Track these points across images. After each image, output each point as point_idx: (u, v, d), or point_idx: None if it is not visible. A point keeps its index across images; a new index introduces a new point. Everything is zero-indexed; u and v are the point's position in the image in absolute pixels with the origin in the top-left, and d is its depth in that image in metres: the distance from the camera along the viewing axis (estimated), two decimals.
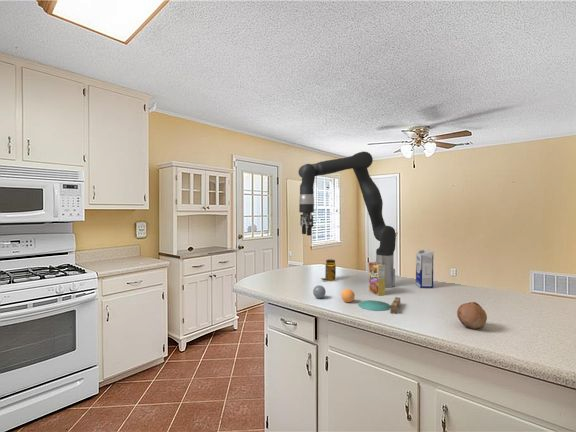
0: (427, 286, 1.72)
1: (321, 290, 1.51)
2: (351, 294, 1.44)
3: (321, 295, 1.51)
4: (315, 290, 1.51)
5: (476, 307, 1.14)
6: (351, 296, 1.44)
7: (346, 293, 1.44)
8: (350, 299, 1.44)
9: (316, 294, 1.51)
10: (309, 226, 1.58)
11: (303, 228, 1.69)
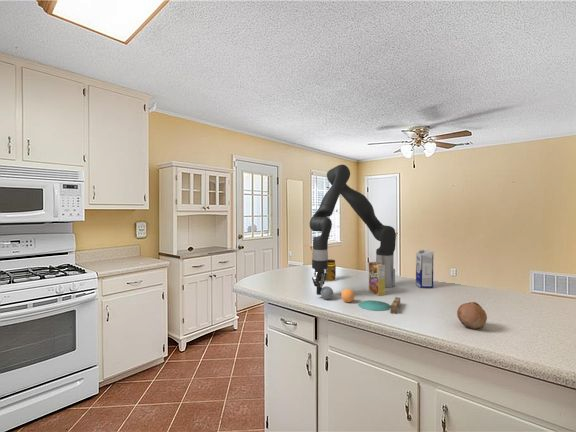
0: (427, 286, 1.72)
1: (330, 295, 1.49)
2: (351, 294, 1.44)
3: (326, 298, 1.49)
4: (325, 291, 1.49)
5: (476, 307, 1.14)
6: (351, 296, 1.44)
7: (346, 293, 1.44)
8: (350, 299, 1.44)
9: (323, 294, 1.49)
10: (323, 283, 1.56)
11: None
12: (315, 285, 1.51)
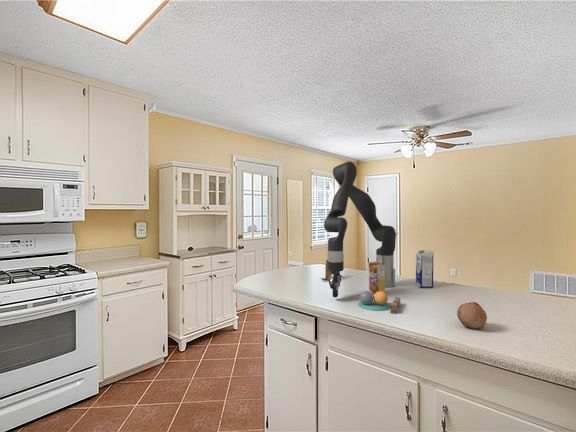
0: (427, 286, 1.72)
1: (364, 293, 1.41)
2: (378, 293, 1.41)
3: (369, 296, 1.40)
4: (362, 300, 1.41)
5: (476, 307, 1.14)
6: (380, 293, 1.41)
7: (376, 297, 1.41)
8: (383, 295, 1.40)
9: (366, 300, 1.40)
10: None
11: None
12: (331, 287, 1.47)
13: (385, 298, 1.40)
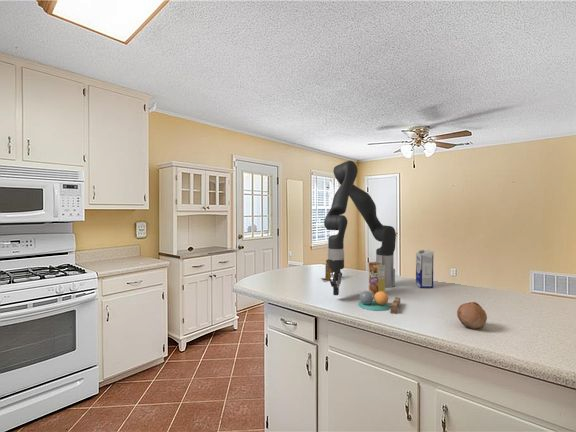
0: (427, 286, 1.72)
1: (364, 293, 1.41)
2: (379, 293, 1.41)
3: (369, 296, 1.40)
4: (362, 300, 1.41)
5: (476, 307, 1.14)
6: (381, 293, 1.41)
7: (377, 297, 1.41)
8: (384, 296, 1.40)
9: (366, 301, 1.40)
10: (339, 283, 1.52)
11: None
12: (332, 285, 1.47)
13: (386, 298, 1.40)
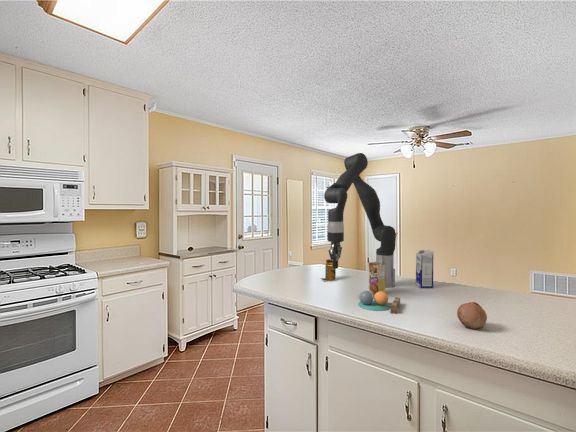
0: (427, 286, 1.72)
1: (364, 293, 1.41)
2: (379, 293, 1.41)
3: (369, 296, 1.40)
4: (362, 300, 1.41)
5: (476, 307, 1.14)
6: (381, 293, 1.41)
7: (377, 297, 1.41)
8: (384, 296, 1.40)
9: (366, 301, 1.40)
10: None
11: None
12: (331, 258, 1.47)
13: (386, 298, 1.40)
